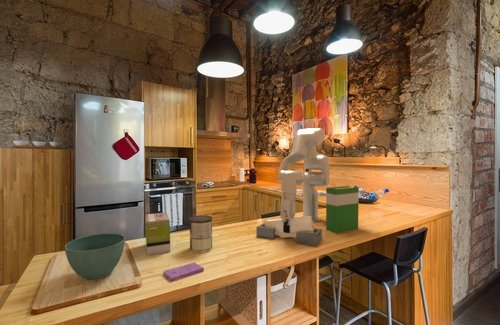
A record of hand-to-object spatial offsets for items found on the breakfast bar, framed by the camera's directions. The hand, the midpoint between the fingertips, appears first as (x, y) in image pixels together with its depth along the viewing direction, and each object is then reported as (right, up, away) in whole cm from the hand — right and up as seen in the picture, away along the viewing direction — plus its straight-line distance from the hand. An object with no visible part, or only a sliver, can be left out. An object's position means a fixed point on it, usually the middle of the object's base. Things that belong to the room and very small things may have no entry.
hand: (288, 230), depth 132 cm
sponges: (-44, -6, -39) cm, 59 cm away
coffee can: (-42, -4, -14) cm, 45 cm away
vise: (0, -4, 0) cm, 4 cm away
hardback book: (+33, -3, +14) cm, 36 cm away
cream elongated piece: (0, -4, 0) cm, 4 cm away
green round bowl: (-74, -5, -40) cm, 85 cm away
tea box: (-62, -5, -14) cm, 64 cm away
